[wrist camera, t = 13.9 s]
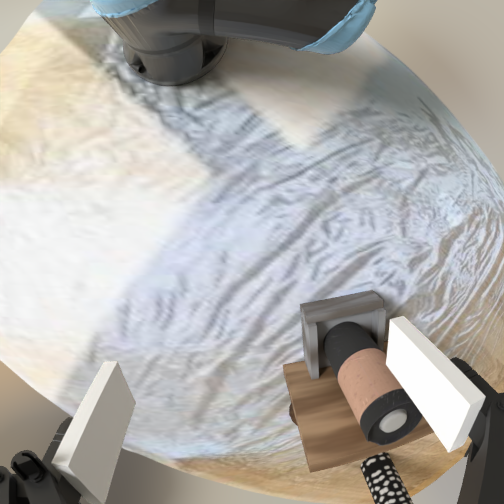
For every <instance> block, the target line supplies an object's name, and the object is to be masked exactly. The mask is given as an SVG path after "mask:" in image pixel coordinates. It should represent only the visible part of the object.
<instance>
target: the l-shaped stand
mask: <svg viewBox="0 0 504 504" xmlns="http://www.w3.org/2000/svg"><path fill="white" fill-rule="evenodd" d="M383 303H384V301H383V300H382V299H381V298H380V297H379V296H378V295H377V294H376V293H375V292H373V291H372V290H370V291H365V292H360V293H355V294H351V295H346V296H341V297H335V298H330V299H325V300H320V301H315V302H309V303H304V304H300V309H301V321H302V333H303V347H304V361H301V362H295V363H290V364H285V365H283V370H284V376H285V379H286V383H287V387H288V391H289V395H290V398H291V402H292V406H293V410H294V413H295V417H296V421H297V425H298V429H299V432H300V436H301V440H302V444H303V447H304V451H305V455H306V459H307V463H308V466H309V470H310V473H311V472H315V471H320V470H324V469H328V468H332V467H336V466H340V465H344V464H347V463H351V462H354V461H358V460H361V459H364V458H368V457H371V456H374V455H377V454H380V453H383V452H385V451H388V450H391V449H394V448H397V447H399V446H402V445H404V444H407V443H409V442H412V441H414V440H417V439H419V438H422V437H424V436H426V435H428V434H431V433H433V432H434V431H433V429H432V428H431V426H430V425H429V423H428V422H427V421H426V419H425V418H424V416H422V419H421V421H420V422H419V424H418V425H417V426H416V427H415V428H414V429H413V430H412V431H411V432H410V433H409V434H408V435H406V436H405V437H404V438H402V439H400V440H398V441H396V442H394V443H392V444H389V445H384V446H379V445H378V444H376V443H373V442H370V441H368V442H367V440H366V438H365V435H364V433H363V431H362V429H361V427H360V425H359V423H358V421H357V419H356V417H355V415H354V413H353V411H352V409H351V407H350V405H349V403H348V401H347V399H346V397H345V395H344V393H343V391H342V389H341V387H340V385H339V383H338V381H337V379H336V376H335V374H334V372H333V369H332V367H331V365H330V363H329V360H328V358H327V356H326V353H325V351H324V347H323V342H324V338H325V336H326V334H327V333H328V331H329V330H330V329H331V328H332V327H334V326H335V325H337V324H339V323H342V322H346V321H351V322H355V323H357V324H359V325H360V326H361V327H362V328H363V329H364V330H365V331H366V333H367V334H368V335H369V336H370V337H371V338H372V339H373V341H374V342H375V343H376V344H377V345H378V346H379V348H380V349H381V350H382V351H383V352H384V353H385V355H386V356H387V349H388V341H386V342H384V336H385V321H386V310H385V309H384V308H383Z"/></svg>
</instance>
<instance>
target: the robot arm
mask: <svg viewBox="0 0 504 504" xmlns="http://www.w3.org/2000/svg"><path fill="white" fill-rule="evenodd" d="M90 1H91V3H92V5H93V8H94V10H96V12H97V13H98V14H99V15H100V16H101V17H102V18H103V19H104V20H105V21H106V22H107V23H108V24H109V25H110V26H111V27H112V28H113V29H114V30H115V31H116V33H117V34H118V35H119V36H120V37H121V38H122V39H123V51H124V56H125V58H126V61H127V63H128V64H129V66H130V67H131V69H132V70H133V71H134V72H135V73H136V74H137V75H138V76H140V77H141V78H142V79H144V80H146V81H148V82H150V83H153V84H157V85H164V86H173V85H180V84H185V83H188V82H191V81H194V80H196V79H198V78H200V77H202V76H203V75H205V74H206V73H208V72H209V71H210V70H211V69H212V68H214V67H215V65H216V64H217V63H218V62H219V61H220V59H221V58H222V56H223V54H224V52H225V50H226V46H227V42H228V38H237V39H245V40H252V41H259V42H265V43H271V44H277V45H282V46H287V47H289V48H290V49H292V50H296V51H305V50H306V51H311V52H316V53H320V54H335V53H339V52H342V51H343V50H345V49H347V48H348V47H350V46H351V45H352V44H353V43H354V42H355V41H356V40H357V39H358V38H359V37H360V35H361V34H362V33H363V31H364V30H365V28H366V27H367V25H368V24H369V22H370V20H371V18H372V16H373V14H374V12H375V9H376V7H375V5H374V4H375V3H376V1H377V0H90ZM386 365H387V367H388V368H389V369H390V371H391V372H392V373H393V375H394V376H395V377H396V379H397V380H398V382H399V383H400V384H401V386H402V387H403V388H404V390H405V391H406V393H407V394H408V395H409V397H410V398H411V399H412V401H413V402H414V404H415V405H416V406H417V408H418V409H419V411H420V412H421V413H422V415H423V416H424V418H425V419H426V421H427V422H428V423H429V425H430V426H431V428H432V429H433V431H434V432H435V433H436V435H437V436H438V438H439V439H440V441H441V442H442V444H443V445H444V447H445V448H446V449H447V451H448V452H451V451H453V450H455V449H457V448H459V447H461V446H463V445H464V443H465V441H466V439H467V437H468V436H469V437H470V438H471V439H472V442H471V444H470V446H469V448H468V450H467V451H466V453H465V456H464V457H467V455H468V453H469V455H468V460H467V465H466V470H465V475H464V479H463V483H462V487H461V491H460V495H459V498H458V502H457V504H504V393H499V394H498V393H497V392H496V391H495V390H494V389H493V388H492V387H491V386H490V385H489V384H488V383H487V382H486V381H485V380H484V379H483V378H482V377H481V376H480V375H478V373H477V372H476V371H475V370H474V369H473V370H472V368H471V367H470V366H469V365H468V364H467V363H466V362H465V361H463V360H461V359H459V358H456V357H455V358H452V359H450V360H449V359H448V358H447V357H446V356H445V355H444V354H443V353H442V352H441V351H440V350H439V349H438V348H437V347H436V346H435V345H434V344H433V343H432V342H431V341H430V340H429V339H427V338H426V337H425V336H424V335H423V334H422V333H421V332H420V331H419V330H418V329H417V328H416V327H415V326H414V325H413V324H412V323H410V322H409V321H408V320H407V319H406V318H405V317H404V316H400V317H397V318H393V319H390V326H389V338H388V349H387V359H386ZM135 404H136V402H135V400H134V398H133V396H132V393H131V391H130V389H129V387H128V385H127V382H126V380H125V378H124V376H123V373H122V371H121V368H120V366H119V364H118V361H110V362H104V363H103V365H102V366H101V368H100V370H99V372H98V373H97V375H96V377H95V379H94V381H93V382H92V384H91V386H90V388H89V390H88V391H87V393H86V395H85V397H84V399H83V401H82V403H81V404H80V406H79V408H78V410H77V412H76V414H75V416H74V418H70V417H69V418H67V419H66V420H65V421H64V422H63V423H62V424H61V425H60V427H59V429H58V430H57V432H56V435H55V436H54V438H53V441H52V442H51V444H50V446H49V448H48V450H47V452H46V454H45V456H44V458H43V460H42V461H41V460H40V459H39V458H38V457H37V455H36V454H35V453H34V452H32V451H29V450H25V451H21V452H19V453H17V454H16V455H15V456H14V457H13V459H12V461H11V468H12V469H13V470H14V471H15V473H16V474H11V473H10V472H9V470H8V469H7V468H5V467H3V466H0V504H81V503H80V502H79V500H80V497H81V496H82V497H83V498H84V499H85V500H86V501H87V502H88V503H93V504H105V501H106V498H107V494H108V490H109V486H110V483H111V480H112V476H113V473H114V470H115V466H116V463H117V460H118V456H119V453H120V450H121V447H122V444H123V440H124V437H125V434H126V431H127V428H128V425H129V422H130V419H131V416H132V413H133V410H134V407H135Z"/></svg>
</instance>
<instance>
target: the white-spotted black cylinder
mask: <svg viewBox="0 0 504 504" xmlns="http://www.w3.org/2000/svg"><path fill="white" fill-rule="evenodd" d="M361 470H362V472H363V475H364V477H365V480H366V482H367V485H368V487H369V489H370V492H371V494H372V497H373V499H374V502H375V504H413V502H412V500H411V498H410V496H409V494H408V492H407V490H406V488H405V486H404V484H403V482H402V480H401V478H400V476H399V474H398V472H397V470H396V468H395V466H394V464H393V462H392V460H391V458H390V456H389V454H388V453H385V452H383V453H380V454H377V455H374V456H371V457H369V458H367V459H366V460H365V461H364V462H363V463H362V464H361Z"/></svg>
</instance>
